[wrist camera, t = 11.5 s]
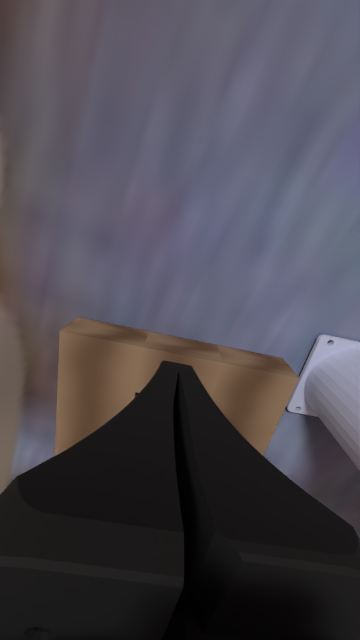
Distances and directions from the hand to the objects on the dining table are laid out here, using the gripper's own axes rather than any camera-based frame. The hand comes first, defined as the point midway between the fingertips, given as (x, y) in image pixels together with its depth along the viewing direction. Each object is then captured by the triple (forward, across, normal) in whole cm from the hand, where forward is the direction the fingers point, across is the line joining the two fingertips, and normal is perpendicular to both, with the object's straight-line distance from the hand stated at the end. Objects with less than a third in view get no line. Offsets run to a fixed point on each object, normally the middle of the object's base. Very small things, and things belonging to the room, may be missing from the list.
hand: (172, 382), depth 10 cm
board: (+9, -1, +9) cm, 13 cm away
